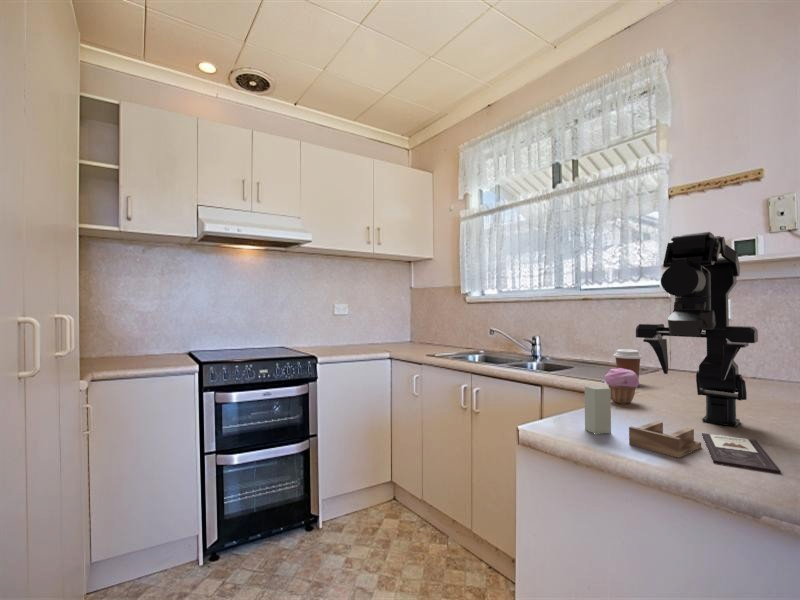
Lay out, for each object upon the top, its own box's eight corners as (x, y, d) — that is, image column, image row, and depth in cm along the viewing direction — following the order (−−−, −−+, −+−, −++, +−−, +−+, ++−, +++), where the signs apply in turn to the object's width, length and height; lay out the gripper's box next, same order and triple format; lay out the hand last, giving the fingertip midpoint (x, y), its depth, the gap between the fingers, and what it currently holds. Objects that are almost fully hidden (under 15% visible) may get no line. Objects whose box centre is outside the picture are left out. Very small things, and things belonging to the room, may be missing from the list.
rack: (652, 435, 88) (652, 419, 88) (701, 447, 80) (701, 430, 80) (629, 444, 82) (629, 427, 82) (678, 458, 75) (678, 439, 75)
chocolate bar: (713, 460, 72) (701, 433, 88) (713, 465, 72) (701, 437, 88) (780, 470, 68) (755, 440, 83) (780, 476, 68) (756, 444, 83)
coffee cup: (642, 386, 139) (642, 352, 139) (612, 384, 144) (612, 350, 144) (642, 382, 147) (642, 349, 147) (614, 380, 151) (614, 348, 152)
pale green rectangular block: (600, 428, 93) (599, 385, 93) (611, 433, 89) (610, 388, 89) (584, 429, 92) (584, 386, 92) (595, 434, 88) (594, 389, 89)
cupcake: (601, 398, 123) (600, 365, 123) (631, 399, 121) (631, 366, 121) (612, 405, 114) (611, 370, 114) (644, 406, 113) (644, 370, 113)
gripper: (626, 297, 80) (627, 375, 80) (749, 295, 66) (751, 389, 66) (643, 298, 87) (644, 369, 87) (757, 296, 74) (758, 381, 74)
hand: (693, 376), depth 78 cm, fingers open, 9 cm apart
